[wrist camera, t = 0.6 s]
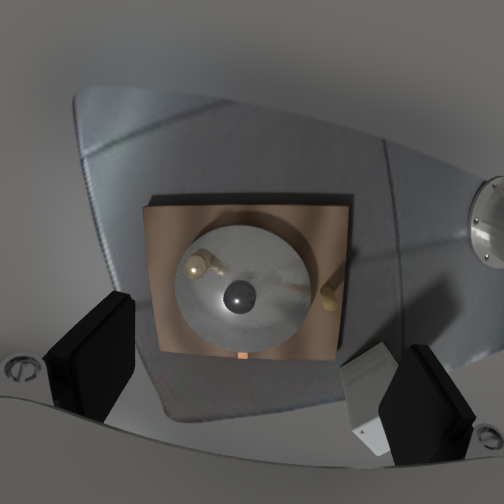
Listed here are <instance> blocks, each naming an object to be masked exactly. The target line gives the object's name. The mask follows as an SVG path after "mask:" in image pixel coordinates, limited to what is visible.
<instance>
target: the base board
mask: <svg viewBox="0 0 504 504" xmlns="http://www.w3.org/2000/svg"><path fill="white" fill-rule="evenodd" d="M348 214H349V207H348V206H347V205H333V204H275V203H230V204H173V205H147V206H144V207H143V220H144V232H145V243H146V253H147V262H148V271H149V279H150V287H151V294H152V302H153V309H154V315H155V322H156V328H157V334H158V340H159V346H160V351H168V352H177V353H186V354H197V355H209V356H221V357H236V358H238V352H233V351H229V350H225V349H222V348H219V347H217V346H215V345H213V344H211V343H209V342H208V341H206V340H204V339H203V338H202V337H200V336H199V335H198V334H197V333H196V332H195V331H194V330H193V329H192V328H191V327H190V326H189V325H188V323H187V322H186V320H185V319H184V317H183V316H182V314H181V311H180V309H179V307H178V304H177V301H176V296H175V275H176V271H177V267H178V265H179V262H180V260H181V258H182V256H183V255H184V253H185V252H186V250H187V249H188V248H189V247H190V246H191V245H192V244H193V243H194V242H195V241H196V240H197V239H198V238H199V237H201V236H202V235H204V234H205V233H207V232H209V231H211V230H213V229H215V228H218V227H221V226H225V225H230V224H251V225H256V226H260V227H263V228H266V229H269V230H271V231H273V232H275V233H277V234H278V235H280V236H281V237H283V238H284V239H285V240H287V241H288V242H289V243H290V244H291V245H292V246H293V247H294V248H295V249H296V250H297V252H298V253H299V255H300V256H301V258H302V259H303V261H304V263H305V265H306V268H307V271H308V274H309V279H310V285H311V301H310V307H309V310H308V313H307V316H306V318H305V320H304V322H303V323H302V325H301V326H300V328H299V329H298V330H297V331H296V333H295V334H293V335H292V336H291V337H290V338H289V339H288V340H286V341H285V342H283V343H282V344H280V345H278V346H276V347H274V348H271V349H268V350H264V351H260V352H253V353H249V355H248V358H254V359H280V360H336V353H337V345H338V337H339V329H340V320H341V311H342V301H343V290H344V279H345V266H346V252H347V235H348Z"/></svg>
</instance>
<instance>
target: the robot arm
mask: <svg viewBox="0 0 504 504" xmlns="http://www.w3.org/2000/svg"><path fill="white" fill-rule="evenodd" d="M468 235H469V241H470V244H471V247H472V249H473V251H474V253H475V255H476V256H477V258H478V259H479V260H480V261H482V262H483V263H484V264H486V265H487V266H489V267H492V268H496V269H502V268H504V176H497V177H495V178H492V179H490V180H488V181H487V182H486V183H485V184H484V185H483V186H482V187H481V188H480V189H479V191H478V192H477V194H476V195H475V197H474V200H473V202H472V205H471V208H470V212H469V218H468ZM134 369H135V300H133V299H131V296H130V294H126V293H122V292H118V291H112V292H111V293H110V294H109V295H108V296H107V297H106V298H104V299H103V300H102V301H101V302H100V303H99V304H98V305H97V306H96V307H95V308H93V309H92V310H91V311H90V312H89V313H88V314H87V315H86V316H85V317H84V318H83V319H82V320H80V321H79V322H78V323H77V324H76V325H75V326H74V327H73V328H72V329H71V330H70V331H69V332H68V333H67V334H65V336H63V337H62V338H61V339H60V340H59V341H58V342H57V343H56V344H55V345H54V346H53V347H52V348H51V349H50V350H49V351H48V353H47V354H46V355H45V356H44V357H43V358H42V359H41V357H39V356H37V355H35V354H31V353H17V354H13V355H11V356H9V357H7V358H6V359H5V360H3V362H2V364H1V365H0V504H504V434H503V433H502V432H501V431H500V430H499V429H498V428H496V427H495V426H493V425H490V424H479V425H477V426H476V427H475V428H473V426H472V424H473V422H474V421H475V419H476V416H475V415H474V413H473V411H472V410H471V408H470V407H469V405H468V403H467V402H466V400H465V399H464V397H463V396H462V394H461V393H460V391H459V390H458V388H457V387H456V385H455V384H454V382H453V381H452V379H451V378H450V376H449V375H448V373H447V372H446V370H445V369H444V368H443V366H442V365H441V363H440V362H439V360H438V359H437V358H436V356H435V355H434V353H433V352H432V350H431V349H430V348H429V347H428V346H427V345H417V344H413V345H411V346H410V348H407V349H406V350H405V352H404V354H403V357H402V359H401V361H400V363H399V365H398V368H397V370H396V372H395V374H394V376H393V378H392V380H391V382H390V384H389V386H388V388H387V390H386V392H385V394H384V396H383V398H382V400H381V402H380V404H379V407H378V414H379V417H380V420H381V423H382V426H383V429H384V432H385V435H386V438H387V441H388V444H389V447H390V450H391V454H392V457H393V460H394V463H395V466H382V467H381V466H379V467H335V466H313V465H297V464H287V463H276V462H268V461H260V460H253V459H246V458H239V457H233V456H227V455H222V454H216V453H211V452H206V451H201V450H196V449H192V448H187V447H183V446H179V445H175V444H171V443H167V442H163V441H159V440H156V439H152V438H148V437H145V436H142V435H138V434H135V433H132V432H128V431H125V430H122V429H119V428H116V427H113V426H110V425H107V424H104V421H105V419H106V418H107V416H108V414H109V413H110V411H111V409H112V407H113V406H114V404H115V403H116V401H117V399H118V397H119V396H120V394H121V392H122V391H123V389H124V388H125V386H126V384H127V383H128V381H129V379H130V378H131V376H132V374H133V372H134Z"/></svg>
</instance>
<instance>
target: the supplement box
mask: <svg viewBox="0 0 504 504" xmlns="http://www.w3.org/2000/svg"><path fill="white" fill-rule="evenodd" d="M397 368H398V364H397V362H396V361H395V359H394V358H393V356H392V355H391V353H390V352H389V350H388V349H387V347H386V346H385V345H384V343H383V342H380V343H379V344H377V345H376V346H374V347H373V348H371V349H370V350H368V351H367V352H365V353H363V354H362V355H360V356H359V357H357V358H355V359H354V360H352V361H350V362H349V363H347V364H345V365H344V366H342V367H340V372H341V377H342V382H343V387H344V392H345V397H346V403H347V408H348V413H349V419H350V424H351V430H352V431H353V432H354V433H355V434H356V435H357V436H358V437H359V438H360V439H361V440H362V441H363V442H364V443H365V444H366V445H367V446H368V447H369V448H370V449H371V450H372V451H373V452H374V453H375V454H376V455H377V456H380V455H382V454H384V453H386V452H388V451H390V447H389V444H388V441H387V438H386V435H385V432H384V429H383V426H382V423H381V420H380V417H379V414H378V407H379V404H380V402H381V400H382V398H383V396H384V394H385V392H386V390H387V388H388V386H389V384H390V382H391V380H392V378H393V376H394V374H395V372H396V370H397Z"/></svg>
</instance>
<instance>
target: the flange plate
mask: <svg viewBox="0 0 504 504" xmlns="http://www.w3.org/2000/svg"><path fill="white" fill-rule="evenodd" d="M175 296H176V301H177V304H178V307H179V309H180V311H181V314H182V316H183V317H184V319H185V320H186V322H187V323H188V325H189V326H190V327H191V328H192V329H193V330H194V331H195V332H196V333H197V334H198V335H199V336H200V337H202V338H203V339H204V340H206V341H208V342H209V343H211V344H213V345H215V346H217V347H219V348H222V349H225V350H229V351H233V352H238V358H244V359H248V355H249V353H253V352H260V351H264V350H268V349H271V348H274V347H276V346H278V345H280V344H282V343H283V342H285V341H286V340H288V339H289V338H290V337H291V336H292V335H293V334H295V333H296V331H297V330H298V329H299V328H300V326H301V325H302V323H303V322H304V320H305V318H306V316H307V313H308V310H309V307H310V301H311V285H310V279H309V274H308V271H307V268H306V265H305V263H304V261H303V259H302V258H301V256H300V255H299V253H298V252H297V250H296V249H295V248H294V247H293V246H292V245H291V244H290V243H289V242H288V241H287V240H285V239H284V238H283V237H281V236H280V235H278V234H277V233H275V232H273V231H271V230H269V229H266V228H263V227H260V226H256V225H251V224H230V225H225V226H221V227H218V228H215V229H213V230H211V231H209V232H207V233H205V234H204V235H202V236H201V237H199V238H198V239H197V240H196V241H195V242H194V243H193V244H192V245H191V246H190V247H189V248H188V249H187V250H186V252H185V253H184V255H183V256H182V258H181V260H180V262H179V265H178V267H177V271H176V275H175Z"/></svg>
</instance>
